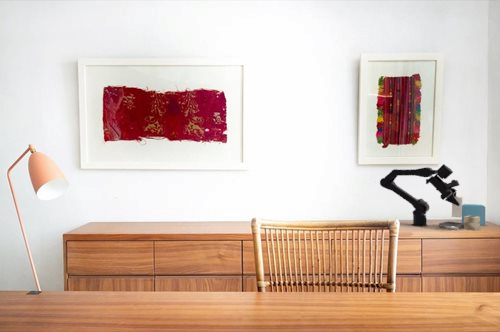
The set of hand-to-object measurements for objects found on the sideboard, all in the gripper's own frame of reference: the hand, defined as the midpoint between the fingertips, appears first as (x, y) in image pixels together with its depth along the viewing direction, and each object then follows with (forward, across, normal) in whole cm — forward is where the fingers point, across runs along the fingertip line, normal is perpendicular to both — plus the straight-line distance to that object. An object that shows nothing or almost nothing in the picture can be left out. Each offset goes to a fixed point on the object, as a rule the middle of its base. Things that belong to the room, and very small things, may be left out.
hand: (459, 205), depth 239 cm
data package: (+13, +20, +6) cm, 25 cm away
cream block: (+4, 0, +6) cm, 7 cm away
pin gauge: (+6, -2, +12) cm, 13 cm away
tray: (+7, +4, +12) cm, 14 cm away
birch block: (+14, +3, +5) cm, 15 cm away
